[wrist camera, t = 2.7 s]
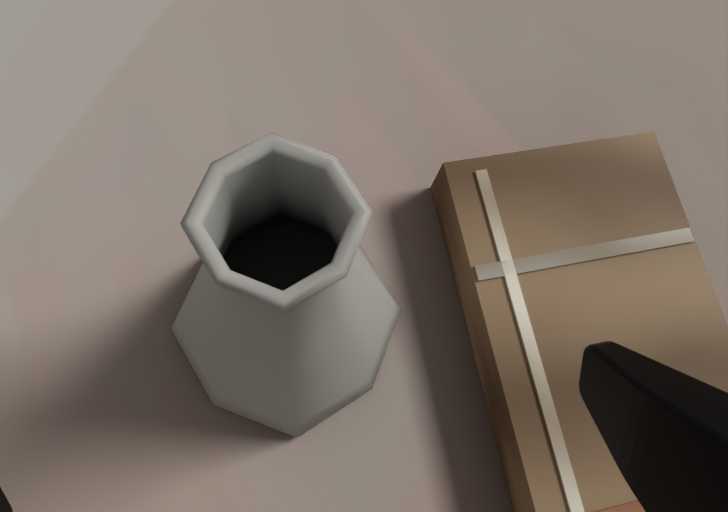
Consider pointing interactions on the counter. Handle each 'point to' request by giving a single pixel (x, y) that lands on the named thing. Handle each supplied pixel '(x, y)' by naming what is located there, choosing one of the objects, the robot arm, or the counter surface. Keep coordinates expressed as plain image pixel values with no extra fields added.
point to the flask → (282, 287)
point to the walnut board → (573, 300)
